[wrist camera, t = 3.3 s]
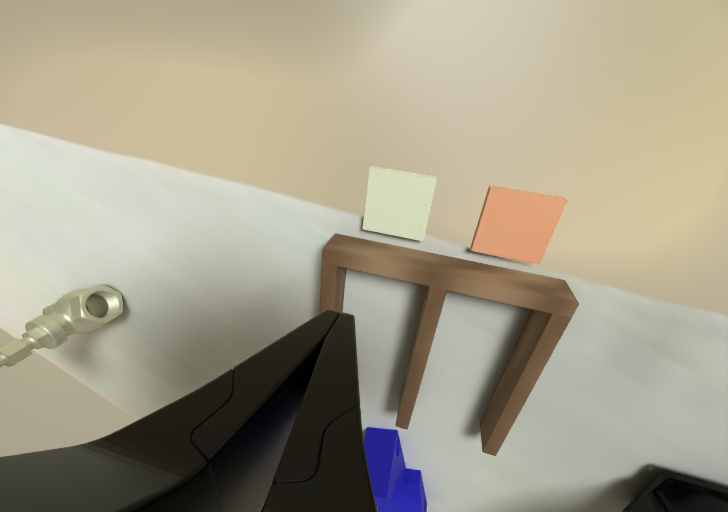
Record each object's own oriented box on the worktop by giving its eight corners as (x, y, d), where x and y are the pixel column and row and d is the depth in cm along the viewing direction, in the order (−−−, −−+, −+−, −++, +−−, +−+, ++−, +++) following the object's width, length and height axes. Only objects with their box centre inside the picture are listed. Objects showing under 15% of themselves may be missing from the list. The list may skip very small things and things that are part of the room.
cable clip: (427, 502, 35) (422, 573, 30) (387, 495, 36) (376, 562, 31) (413, 430, 30) (404, 501, 25) (367, 425, 31) (351, 492, 26)
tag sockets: (603, 203, 17) (625, 220, 15) (492, 426, 27) (495, 456, 25) (340, 160, 19) (326, 169, 17) (325, 379, 29) (315, 402, 27)
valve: (144, 318, 32) (-4, 427, 21) (107, 329, 34) (-42, 431, 24) (100, 262, 29) (-89, 354, 19) (63, 278, 32) (-121, 367, 22)
